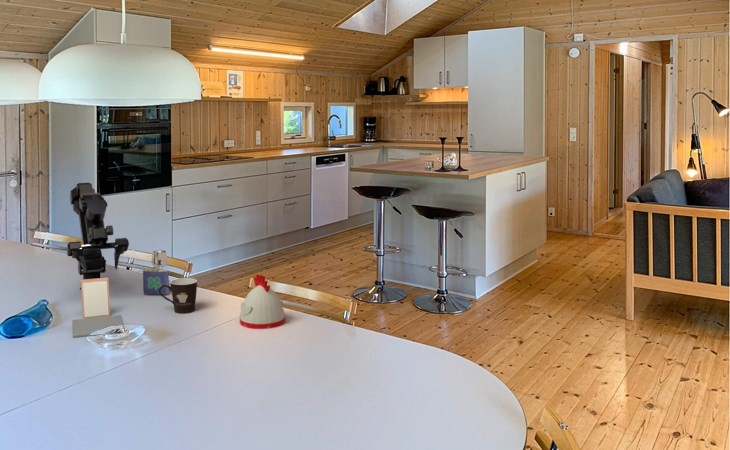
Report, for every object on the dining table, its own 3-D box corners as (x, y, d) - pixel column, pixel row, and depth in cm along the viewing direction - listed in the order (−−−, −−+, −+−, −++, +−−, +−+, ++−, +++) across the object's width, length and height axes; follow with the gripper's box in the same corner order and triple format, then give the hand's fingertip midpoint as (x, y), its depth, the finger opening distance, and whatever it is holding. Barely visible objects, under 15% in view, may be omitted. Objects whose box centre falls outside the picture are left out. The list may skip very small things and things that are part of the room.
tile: (82, 316, 203) (80, 279, 201) (109, 313, 207) (107, 277, 205) (82, 318, 201) (80, 281, 199) (110, 316, 204) (108, 279, 202)
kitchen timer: (269, 312, 211) (268, 268, 208) (293, 323, 201) (293, 276, 198) (231, 320, 202) (230, 274, 199) (254, 332, 192) (254, 283, 189)
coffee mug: (203, 308, 214) (202, 279, 212) (188, 316, 206) (187, 285, 204) (173, 304, 217) (172, 276, 216) (157, 311, 209) (156, 282, 208)
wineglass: (154, 284, 242) (152, 253, 240) (151, 281, 247) (150, 250, 245) (169, 283, 244) (168, 252, 242) (166, 279, 249) (165, 249, 247)
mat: (72, 321, 198) (72, 319, 198) (120, 316, 204) (120, 314, 204) (73, 337, 184) (72, 336, 184) (124, 331, 190) (124, 330, 190)
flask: (170, 293, 230) (169, 264, 229) (167, 296, 228) (166, 266, 226) (145, 293, 231) (143, 264, 229) (141, 295, 228) (140, 266, 226)
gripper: (66, 218, 205) (72, 263, 199) (127, 215, 214) (134, 257, 209) (64, 234, 214) (69, 277, 208) (123, 229, 223) (130, 271, 217)
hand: (101, 270), depth 210 cm, fingers open, 9 cm apart
